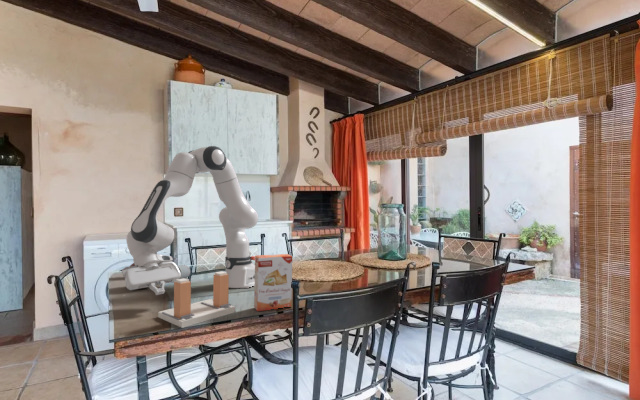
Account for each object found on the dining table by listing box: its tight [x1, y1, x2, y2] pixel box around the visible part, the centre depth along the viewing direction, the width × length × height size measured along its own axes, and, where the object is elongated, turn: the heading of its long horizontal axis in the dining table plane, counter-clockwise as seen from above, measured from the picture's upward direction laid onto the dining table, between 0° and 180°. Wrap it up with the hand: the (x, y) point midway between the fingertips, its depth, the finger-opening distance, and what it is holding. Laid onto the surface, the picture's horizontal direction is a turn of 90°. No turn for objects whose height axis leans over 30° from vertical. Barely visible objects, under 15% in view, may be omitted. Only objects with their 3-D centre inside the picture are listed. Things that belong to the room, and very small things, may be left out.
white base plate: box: [157, 298, 236, 329], centre depth 136 cm, size 22×16×3 cm
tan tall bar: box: [212, 270, 230, 308], centre depth 140 cm, size 4×4×13 cm
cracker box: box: [253, 253, 293, 312], centre depth 145 cm, size 14×6×21 cm, turn 114°
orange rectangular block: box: [173, 278, 192, 319], centre depth 127 cm, size 4×4×13 cm
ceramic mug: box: [177, 264, 191, 279], centre depth 192 cm, size 11×8×8 cm
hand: (160, 293), depth 137 cm, fingers closed
